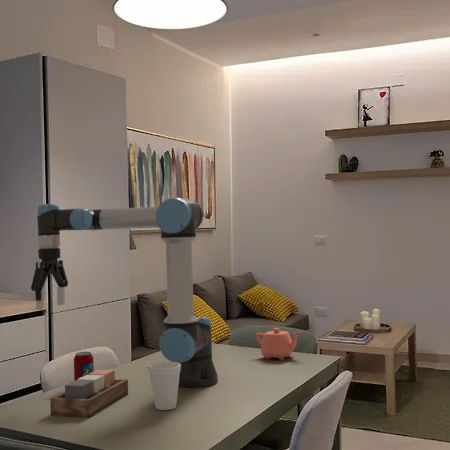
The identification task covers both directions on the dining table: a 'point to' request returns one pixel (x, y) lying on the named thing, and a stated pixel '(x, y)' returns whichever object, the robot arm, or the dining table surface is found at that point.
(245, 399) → the dining table surface
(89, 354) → the beverage can
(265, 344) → the teapot
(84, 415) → the wooden tray
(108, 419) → the dining table surface
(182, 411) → the dining table surface
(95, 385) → the white square block
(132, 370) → the dining table surface
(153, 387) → the cup
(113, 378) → the salmon pink square block
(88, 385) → the grey square block
